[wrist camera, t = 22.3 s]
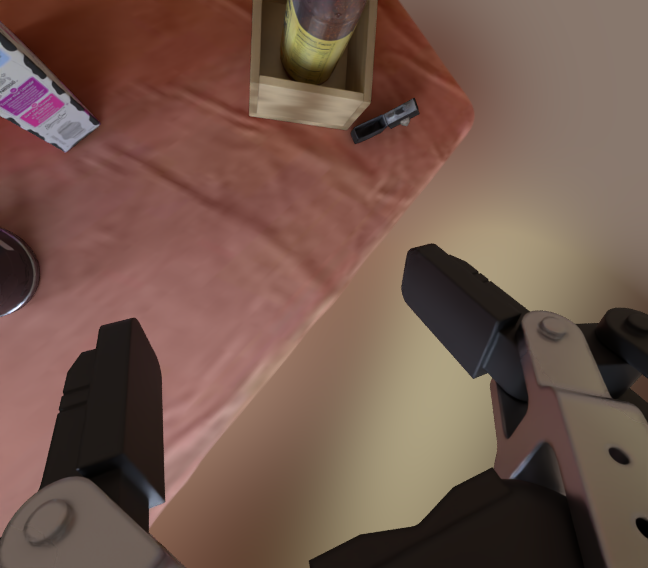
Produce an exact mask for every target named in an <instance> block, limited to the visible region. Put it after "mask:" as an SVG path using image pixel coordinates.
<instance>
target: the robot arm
mask: <svg viewBox="0 0 648 568" xmlns="http://www.w3.org/2000/svg"><path fill="white" fill-rule="evenodd" d="M39 279H40V270H39V264H38V261H37V259H36V256H35V255H34V253H33V251H32V250H31V248H30V247H29V246H28V245H27V244H26V243H25V242H24V241H23V240H22V239H21V238H19V237H18V236H17V235H15V234H13V233H12V232H10V231H8V230H5V229H3V228H0V317H1V316H5V315H8V314H11V313H13V312H15V311H17V310H19V309H20V308H22V307H23V306H24V305H26V304H27V303H28V302H29V301H30V300H31V298H32V297H33V296H34V294H35V292H36V290H37V288H38V284H39ZM401 287H402V288H401V290H402V295H403V298H404V300H405V302H406V303H407V305H408V306H409V307H410V308H411V309H412V310H413V311H414V313H415V314H416V315H417V316H418V317H419V318H420V319H421V320H422V322H423V323H424V324H425V325H426V326H427V327H428V328H429V329H430V331H431V332H432V333H433V334H434V335H435V336H436V337H437V339H438V340H439V341H440V342H441V343H442V344H443V345H444V346H445V348H446V349H447V350H448V351H449V352H450V353H451V354H452V355H453V356H454V358H455V359H456V360H457V361H458V362H459V363H460V364H461V366H462V367H463V368H464V369H465V370H466V371H467V372H468V373H469V375H470V376H471V377H472V378H473V379H474V378H477V377H479V376H482V375H484V374H487V373H488V374H489V375H490V376H491V377H492V380H491V383H490V390H491V398H492V405H493V413H494V421H495V429H496V437H497V454H496V459H495V463H494V469H493V468H490V469H488V470H486V471H484V472H482V473H481V474H478V475H476V476H475V477H472V478H470V479H469V480H466V481H465V482H463V483H461V484H459V485H457V486H455V487H453V488H452V489H451V490H450V491H449V492H448V493H447V495H446V496H445V497H444V498H443V499H442V500H441V501H440V502H439V503H438V504H437V505H436V506H435V507H434V509H432V511H431V512H430V513H429V514H428V515H427V516H426V517H425V518H424V519H423V520H422V521H421V522H420V523H419V524H418V525H416V526H412V527H406V528H400V529H393V530H387V531H381V532H374V533H368V534H361V535H358V536H357V537H355V538H353V539H351V540H349V541H347V542H345V543H343V544H341V545H339V546H337V547H335V548H333V549H331V550H329V551H327V552H325V553H323V554H321V555H319V556H317V557H315V558H314V559H311V560H309V564H310V568H648V403H647V402H646V401H645V400H643V399H642V398H641V397H640V396H639V395H637V394H636V393H635V392H634V391H632V390H631V389H630V387H631V386H632V385H633V384H634V383H635V381H636V380H637V379H638V378H639V377H640V376H641V375H642V374H643V375H644V376H645V377H647V378H648V315H647V314H645V313H643V312H640V311H636V310H633V309H628V308H613V309H610V310H608V311H607V312H606V314H605V315H604V317H603V318H602V319H601V321H600V322H599V323H590V324H589V323H588V324H574V323H573V322H572V321H570V320H569V319H567V318H565V317H563V316H561V315H558V314H556V313H553V312H548V311H531V312H530V311H528V310H527V309H526V308H525V307H523V306H522V305H520V304H519V303H518V302H517V301H516V300H514V299H513V298H512V297H511V296H509V295H508V294H506V293H505V292H504V291H503V290H502V289H500V288H499V287H498V286H496V285H495V284H494V283H493V282H491V281H490V282H489V281H488V279H487V278H486V277H485V276H484V275H482V274H481V273H480V274H479V273H478V271H477V270H476V269H475V268H473V267H472V266H471V265H469V264H468V263H467V262H465V261H463V260H461V259H459V258H456V257H454V256H452V255H448V254H447V253H446V252H444V251H443V250H442V249H441V248H439V247H438V246H437V245H436V244H427V245H423V246H419V247H415V248H411V249H410V250H409V251H408V253H407V257H406V262H405V268H404V274H403V280H402V286H401ZM63 394H64V396H62V398H61V402H60V406H59V411H60V413H58V415H57V419H56V423H55V427H54V432H53V436H52V440H51V444H50V448H49V453H48V457H47V461H46V465H45V470H44V474H43V478H42V482H41V485H40V488H39V490H38V492H37V493H35V494H34V495H33V496H32V497H30V498H29V499H28V500H27V501H26V502H25V503H24V504H23V505H22V506H21V507H20V508H19V510H18V511H17V512H16V513H15V514H14V516H13V517H12V519H11V520H10V521H9V523H8V525H7V527H6V528H5V530H4V532H3V535H2V537H1V538H0V568H185V566H184V565H183V564H181V562H179V561H178V560H177V559H176V558H175V557H174V556H173V555H172V554H171V553H170V552H169V551H168V550H167V549H166V548H165V547H164V546H163V545H162V544H160V543H159V542H158V541H157V540H156V539H155V538H154V537H153V536H152V535H151V534H150V533H149V508H152V507H154V506H157V505H159V504H162V503H164V502H165V482H164V445H163V409H162V377H161V370H160V365H159V362H158V359H157V356H156V354H155V352H154V350H153V349H152V347H151V345H150V343H149V341H148V339H147V337H146V335H145V333H144V331H143V329H142V327H141V325H140V323H139V322H138V320H137V319H136V318H130V319H126V320H122V321H118V322H114V323H110V324H106V325H102V326H101V327H100V329H99V333H98V339H97V345H96V349H93V350H89V351H86V352H82V353H81V354H80V355H79V357H78V358H77V360H76V361H75V362H74V364H73V365H72V367H71V368H70V369H69V371H68V372H67V377H66V381H65V385H64V389H63Z"/></svg>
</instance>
